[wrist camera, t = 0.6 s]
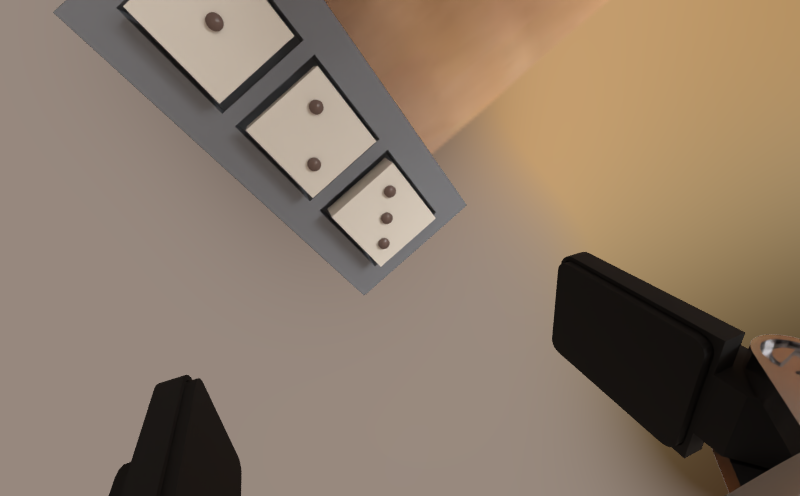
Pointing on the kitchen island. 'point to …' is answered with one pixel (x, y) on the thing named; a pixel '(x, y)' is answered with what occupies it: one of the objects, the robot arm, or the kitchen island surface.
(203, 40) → the tile
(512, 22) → the kitchen island surface
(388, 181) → the tile
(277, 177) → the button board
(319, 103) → the tile
